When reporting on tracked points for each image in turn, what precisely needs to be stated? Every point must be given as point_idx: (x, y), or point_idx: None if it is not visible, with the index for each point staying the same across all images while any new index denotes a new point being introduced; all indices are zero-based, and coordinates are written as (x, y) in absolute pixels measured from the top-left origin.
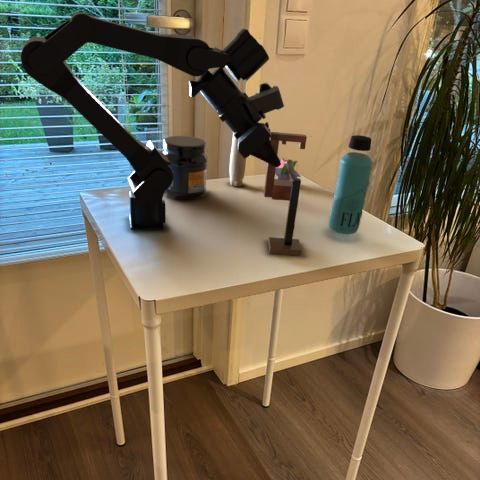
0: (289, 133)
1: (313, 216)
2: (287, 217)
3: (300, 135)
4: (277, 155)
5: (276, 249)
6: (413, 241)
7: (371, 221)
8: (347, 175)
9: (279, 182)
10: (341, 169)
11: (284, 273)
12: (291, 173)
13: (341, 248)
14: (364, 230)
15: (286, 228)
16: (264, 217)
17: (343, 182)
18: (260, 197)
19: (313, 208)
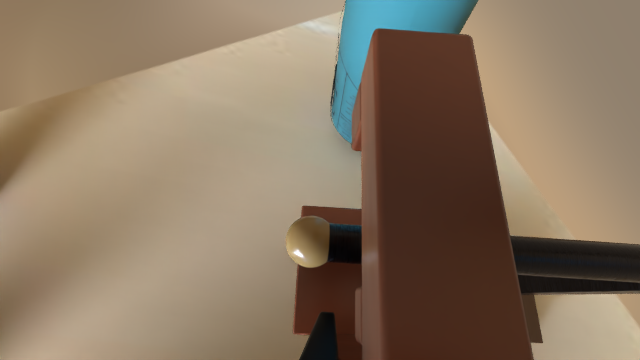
0: (394, 228)
1: (248, 168)
2: (556, 293)
3: (449, 90)
4: (325, 343)
5: (538, 323)
6: None
7: (274, 44)
8: (472, 5)
9: (345, 300)
10: (448, 6)
11: (625, 312)
12: (574, 269)
13: None
14: (329, 72)
15: (541, 294)
16: (264, 324)
17: None
18: (72, 318)
19: (187, 156)
